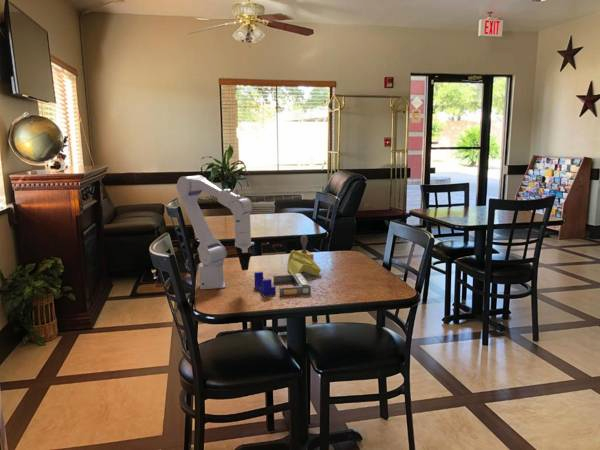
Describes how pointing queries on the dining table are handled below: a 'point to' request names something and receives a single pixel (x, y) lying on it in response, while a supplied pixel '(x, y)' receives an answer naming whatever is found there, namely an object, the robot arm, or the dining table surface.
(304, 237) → the rubber stamp
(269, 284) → the blue arched block
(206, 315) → the dining table surface
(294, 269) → the plastic component
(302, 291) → the rack
